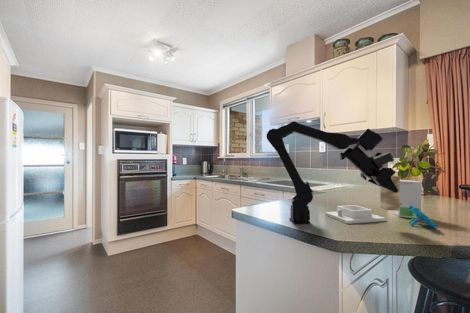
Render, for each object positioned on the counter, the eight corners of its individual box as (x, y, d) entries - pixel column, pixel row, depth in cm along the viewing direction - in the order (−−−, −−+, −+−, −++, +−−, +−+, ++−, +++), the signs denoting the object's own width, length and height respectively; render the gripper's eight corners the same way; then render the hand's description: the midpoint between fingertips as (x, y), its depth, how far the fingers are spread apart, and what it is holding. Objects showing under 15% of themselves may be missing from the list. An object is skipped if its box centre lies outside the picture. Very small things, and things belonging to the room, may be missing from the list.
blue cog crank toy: (443, 227, 77) (416, 204, 81) (428, 238, 78) (402, 215, 82) (430, 223, 87) (407, 203, 91) (417, 233, 88) (395, 213, 92)
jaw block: (385, 209, 81) (385, 176, 81) (380, 207, 85) (380, 175, 85) (399, 210, 79) (399, 176, 79) (394, 207, 84) (394, 175, 84)
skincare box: (398, 217, 97) (398, 180, 97) (393, 213, 103) (393, 179, 103) (422, 219, 94) (422, 181, 94) (416, 215, 100) (416, 180, 100)
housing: (347, 223, 87) (347, 213, 87) (324, 214, 100) (324, 205, 100) (385, 221, 91) (385, 210, 91) (359, 212, 105) (359, 203, 105)
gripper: (388, 143, 74) (427, 177, 71) (369, 146, 92) (400, 173, 90) (361, 167, 76) (399, 201, 73) (348, 165, 94) (377, 192, 91)
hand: (394, 190), depth 82 cm, fingers closed on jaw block, 4 cm apart
